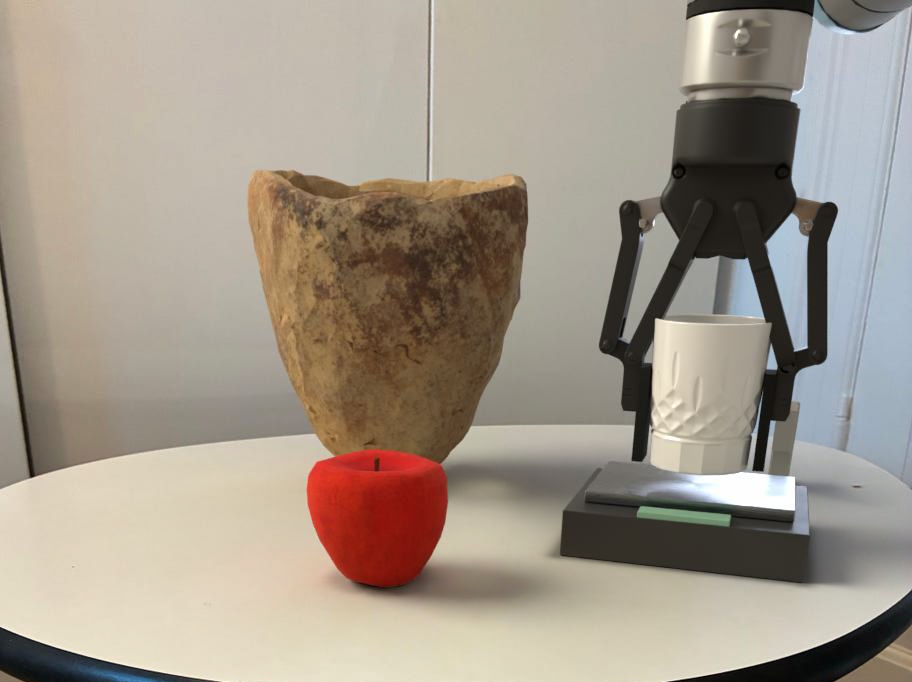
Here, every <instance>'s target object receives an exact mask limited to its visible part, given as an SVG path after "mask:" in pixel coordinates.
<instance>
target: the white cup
mask: <svg viewBox="0 0 912 682" xmlns="http://www.w3.org/2000/svg"><path fill="white" fill-rule="evenodd" d="M771 326H772V323H766V322H765V318H764V317H758V316H749V315H748V316H747V315H735V314H734V315H733V314H712V313H709V314H708V313H677V314H675V313H674V314H666V316H665V318H664V320H662V319H658V318H656V319H655V333H654V336H653V342H652V357H651V363H652V376H651V389H652V391H651V400H650V407H651V415H650V428H651V430H650V434H651V435H650V453H649V461H650V465H653V466H655V467H657V468H659V469H662V470H666V471H670V472H675V473H681V474H691V475H729V474H736V473H740V472H742V473H743V472H744V471H745V470H747V469H748V465H749V459H750V453H751V448H752V440H753V436H752V435H753V433H754V430H755V428H756V426H757V423H758V422H757V421H758V417H759V413H760V407H761V402H762V394H763V387H764V379H765V373H766V370H767V369H768V363H769V358H770V352H771V347H772V344H771V340H770V337H769V336H770V331H771Z"/></svg>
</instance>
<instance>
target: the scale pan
mask: <svg viewBox="0 0 912 682" xmlns="http://www.w3.org/2000/svg"><path fill="white" fill-rule="evenodd" d="M795 485H796V476H789V477H788V476H777V475H768V474H766V473H765V474H764V473H763V474H762V473H753V472H743V471H742V472H740V473H736V474H729V475H691V474H681V473H675V472H670V471H666V470H662V469H659V468H657V467H655V466H653V465H651V464H649V463H648V464H647V463H639V462H637V463H636V462H625V461H615V460H614V461H613V460H609V461H608V462H607V463H606V464H605V465H604V467H603V469H602V471H601V472H600V473H599V474H598V476H597V477H596V478H595V480H594V481H593V482H592V483H591V485H590V486H589V487H588V488H587V490H586V491H585V500H584V501H585V502H593V503H603V504H613V505H624V506H634V507H641V506H645V507H655V508H665V509H676V510H686V511H696V512H706V513H717V514H727V515H731V516H736V517H746V518H756V519H766V520H776V521H786V522H794V518H795V512H796V499H795Z"/></svg>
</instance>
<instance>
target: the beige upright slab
mask: <svg viewBox="0 0 912 682" xmlns="http://www.w3.org/2000/svg"><path fill="white" fill-rule="evenodd" d="M800 411H801V403H800V402H799V401H793V400H792V401H791V408H790V415H789V416H788V418H787V420H786V422H784V421H774V422H775V423H774V429H773V436H772V437H773V438H772V444H771V451H770V452H771V453H770V459H769V465H768V473H767V475H777V476H788V477H790V473H791V472H790V471H791V465H792V458H793V453H794V448H795V442H796V441H795V440H796V436H797V429H798V423H799V416H800Z"/></svg>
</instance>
